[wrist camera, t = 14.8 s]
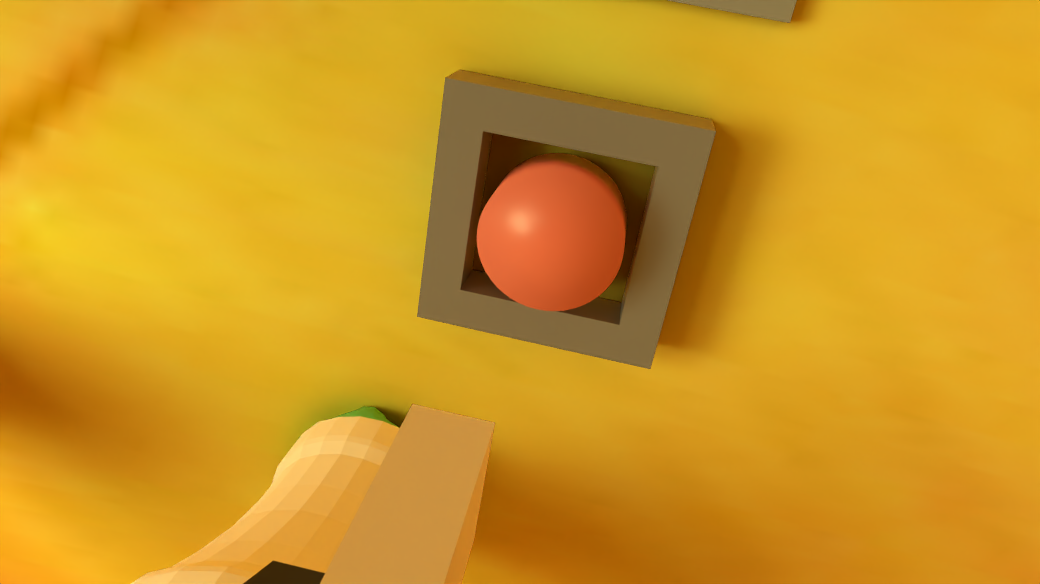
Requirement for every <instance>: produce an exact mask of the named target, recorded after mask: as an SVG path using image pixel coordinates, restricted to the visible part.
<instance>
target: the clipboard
mask: <svg viewBox="0 0 1040 584" xmlns="http://www.w3.org/2000/svg"><path fill="white" fill-rule="evenodd" d="M669 1H674V2H679V3H685V4H690V5H696V6H701V7H706V8H712V9H717V10H723V11H728V12H733V13H739V14H744V15H750V16H755V17H760V18H766V19H771V20H777V21H782V22H787V23H790V21H791V18H792V14H793V11H794V8H795V4H796V1H797V0H669Z"/></svg>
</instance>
